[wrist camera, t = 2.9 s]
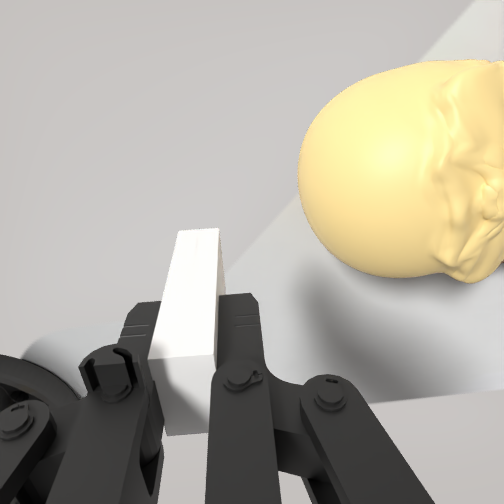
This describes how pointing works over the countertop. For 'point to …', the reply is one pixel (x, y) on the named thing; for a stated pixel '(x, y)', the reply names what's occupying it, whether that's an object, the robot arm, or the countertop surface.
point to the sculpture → (411, 171)
